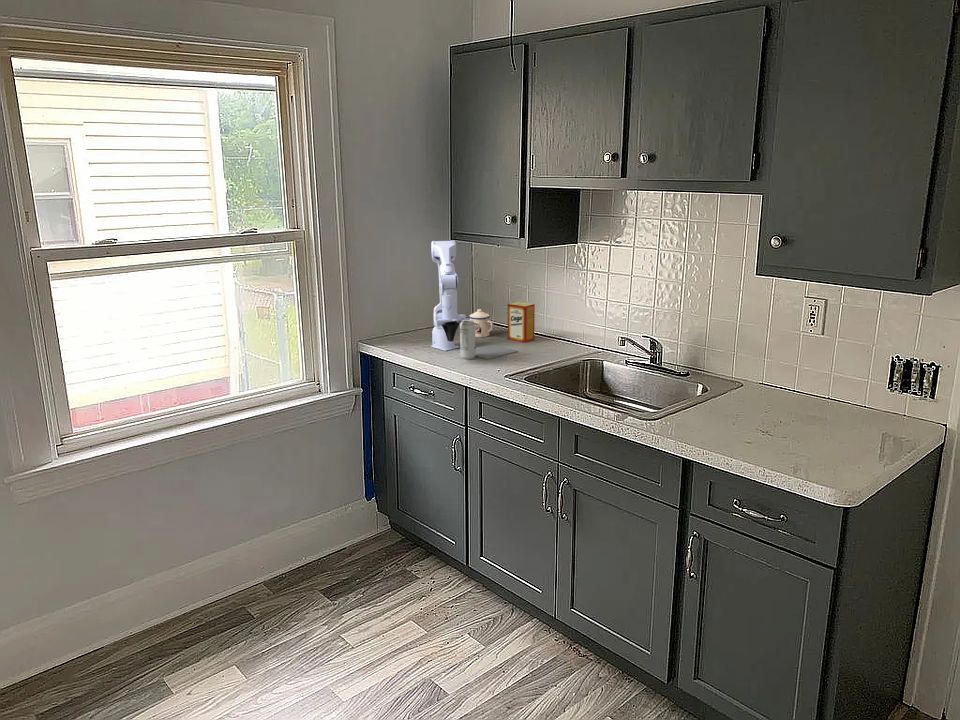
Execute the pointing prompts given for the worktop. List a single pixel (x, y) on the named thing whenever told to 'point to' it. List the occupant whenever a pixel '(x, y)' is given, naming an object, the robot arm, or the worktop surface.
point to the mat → (493, 351)
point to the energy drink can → (467, 339)
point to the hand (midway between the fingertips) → (450, 341)
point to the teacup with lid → (481, 323)
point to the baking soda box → (521, 321)
